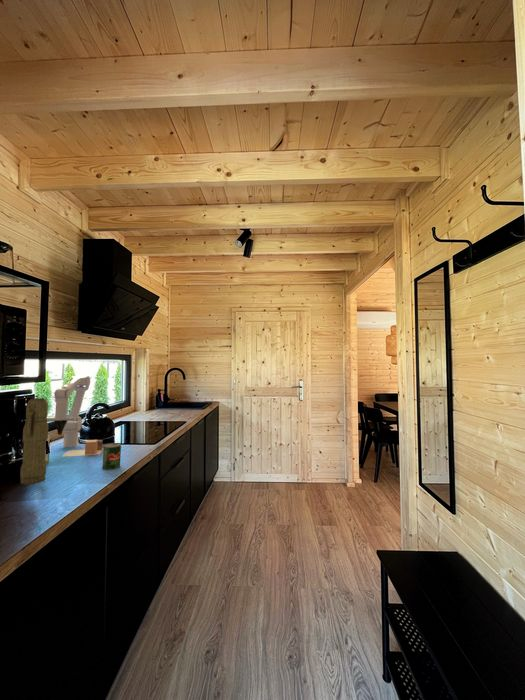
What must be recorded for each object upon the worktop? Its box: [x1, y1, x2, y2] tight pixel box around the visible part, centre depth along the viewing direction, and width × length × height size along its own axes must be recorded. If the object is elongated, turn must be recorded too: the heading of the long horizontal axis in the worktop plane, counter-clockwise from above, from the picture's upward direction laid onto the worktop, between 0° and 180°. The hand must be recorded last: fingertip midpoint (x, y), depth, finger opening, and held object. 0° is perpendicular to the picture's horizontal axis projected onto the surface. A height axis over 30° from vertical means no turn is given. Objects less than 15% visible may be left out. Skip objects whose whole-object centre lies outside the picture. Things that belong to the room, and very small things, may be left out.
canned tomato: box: [102, 442, 122, 471], centre depth 153 cm, size 8×8×11 cm
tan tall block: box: [19, 397, 49, 486], centre depth 134 cm, size 9×12×35 cm
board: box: [62, 448, 103, 458], centre depth 174 cm, size 12×18×1 cm, turn 108°
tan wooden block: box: [84, 439, 99, 456], centre depth 174 cm, size 5×5×7 cm
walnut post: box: [97, 439, 104, 451], centre depth 181 cm, size 3×3×5 cm
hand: (59, 434), depth 174 cm, fingers closed
